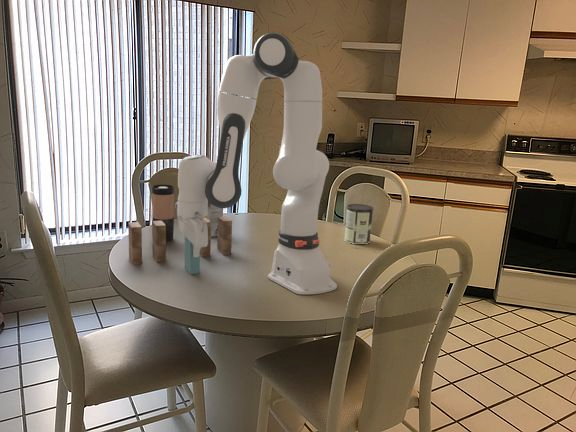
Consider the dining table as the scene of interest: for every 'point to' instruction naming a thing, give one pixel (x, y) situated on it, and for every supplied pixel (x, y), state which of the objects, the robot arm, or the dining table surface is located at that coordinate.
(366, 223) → the coffee can
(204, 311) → the dining table surface
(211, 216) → the coffee box
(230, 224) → the domino
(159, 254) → the domino
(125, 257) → the dining table surface
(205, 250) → the domino
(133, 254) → the domino far
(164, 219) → the travel mug
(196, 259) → the domino
